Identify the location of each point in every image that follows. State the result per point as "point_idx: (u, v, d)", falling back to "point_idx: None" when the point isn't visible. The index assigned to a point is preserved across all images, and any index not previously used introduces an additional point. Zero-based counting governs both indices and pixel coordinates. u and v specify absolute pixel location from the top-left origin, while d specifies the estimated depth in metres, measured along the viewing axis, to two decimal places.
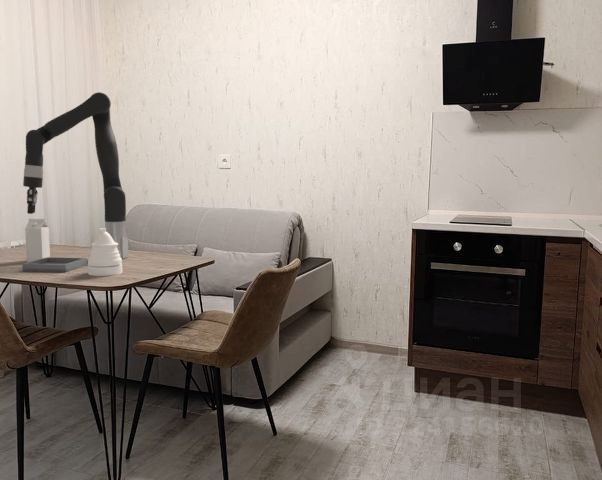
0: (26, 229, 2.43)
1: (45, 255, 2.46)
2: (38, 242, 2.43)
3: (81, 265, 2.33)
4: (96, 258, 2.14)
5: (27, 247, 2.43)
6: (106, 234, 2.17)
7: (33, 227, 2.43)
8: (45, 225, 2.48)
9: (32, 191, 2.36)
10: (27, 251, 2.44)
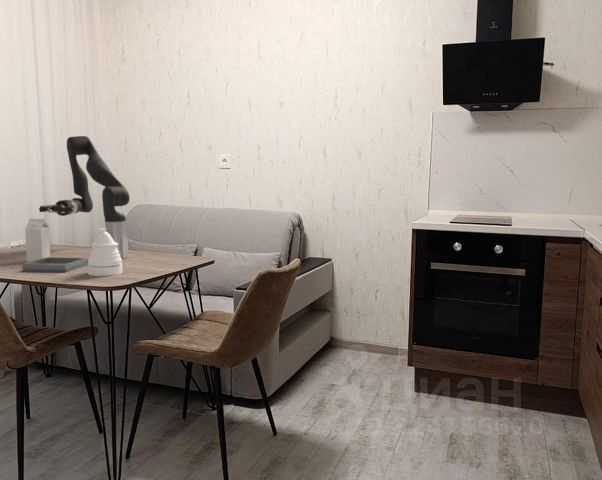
0: (26, 229, 2.43)
1: (45, 255, 2.46)
2: (38, 242, 2.43)
3: (81, 265, 2.33)
4: (96, 258, 2.14)
5: (27, 247, 2.43)
6: (106, 234, 2.17)
7: (33, 227, 2.43)
8: (45, 225, 2.48)
9: None
10: (27, 251, 2.44)
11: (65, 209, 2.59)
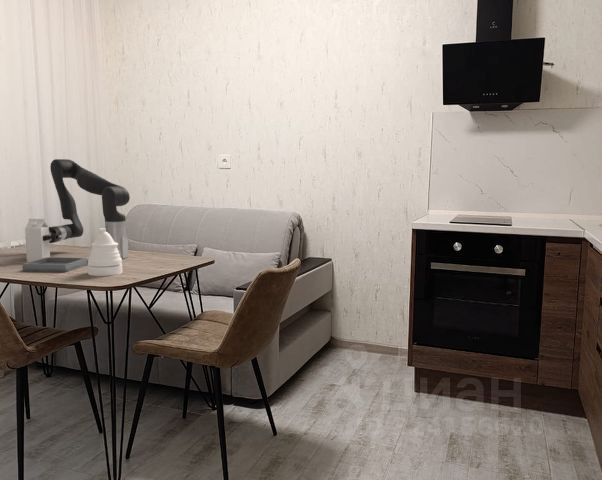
0: (26, 229, 2.43)
1: (45, 255, 2.46)
2: (38, 242, 2.43)
3: (81, 265, 2.33)
4: (96, 258, 2.14)
5: (27, 247, 2.43)
6: (106, 234, 2.17)
7: (33, 227, 2.43)
8: (45, 225, 2.48)
9: None
10: (27, 251, 2.44)
11: (51, 237, 2.48)
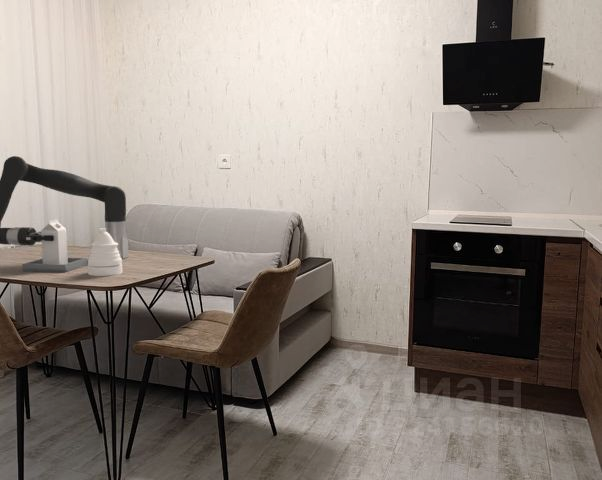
0: (58, 231, 2.25)
1: None
2: (65, 243, 2.31)
3: (81, 265, 2.33)
4: (96, 258, 2.14)
5: (59, 250, 2.26)
6: (106, 234, 2.17)
7: (60, 228, 2.28)
8: None
9: (27, 236, 2.23)
10: (59, 255, 2.26)
11: None
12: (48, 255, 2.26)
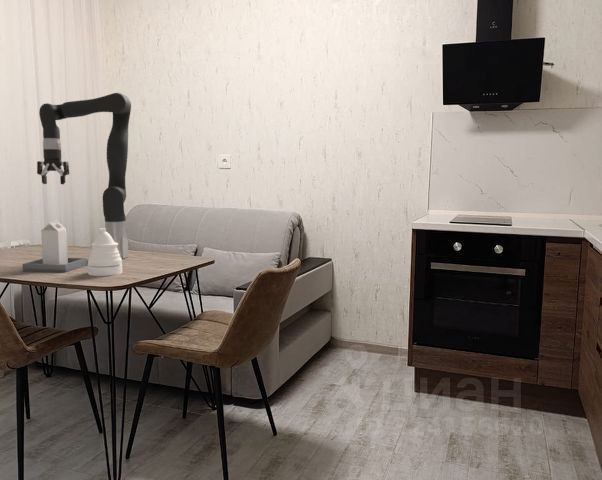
0: (58, 231, 2.25)
1: None
2: (65, 243, 2.31)
3: (81, 265, 2.33)
4: (96, 258, 2.14)
5: (59, 250, 2.26)
6: (106, 234, 2.17)
7: (60, 228, 2.28)
8: None
9: None
10: (59, 255, 2.26)
11: (65, 175, 2.54)
12: (49, 255, 2.26)
